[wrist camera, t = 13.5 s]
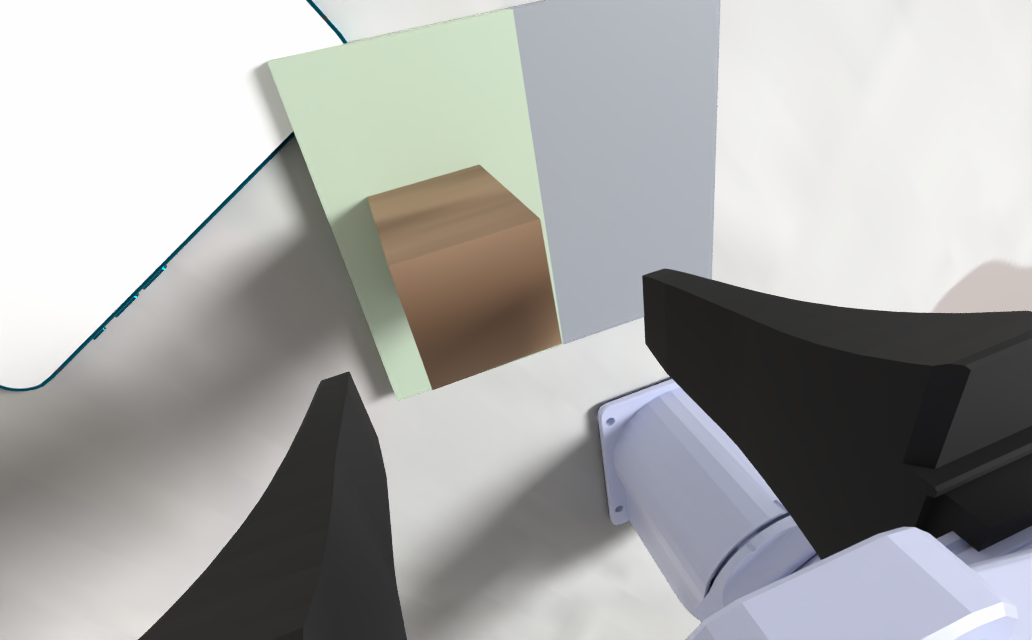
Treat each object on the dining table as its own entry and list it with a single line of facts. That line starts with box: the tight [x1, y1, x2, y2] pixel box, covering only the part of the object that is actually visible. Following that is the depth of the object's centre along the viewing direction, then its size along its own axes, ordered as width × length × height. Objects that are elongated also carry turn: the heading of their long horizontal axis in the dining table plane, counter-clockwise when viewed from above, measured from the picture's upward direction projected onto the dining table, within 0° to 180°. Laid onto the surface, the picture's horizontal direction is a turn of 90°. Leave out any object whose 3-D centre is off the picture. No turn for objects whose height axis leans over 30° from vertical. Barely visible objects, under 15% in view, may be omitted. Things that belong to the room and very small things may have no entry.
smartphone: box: [0, 0, 347, 391], centre depth 16 cm, size 8×1×16 cm
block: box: [367, 164, 562, 390], centre depth 17 cm, size 4×4×6 cm
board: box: [267, 0, 720, 401], centre depth 21 cm, size 13×15×1 cm
